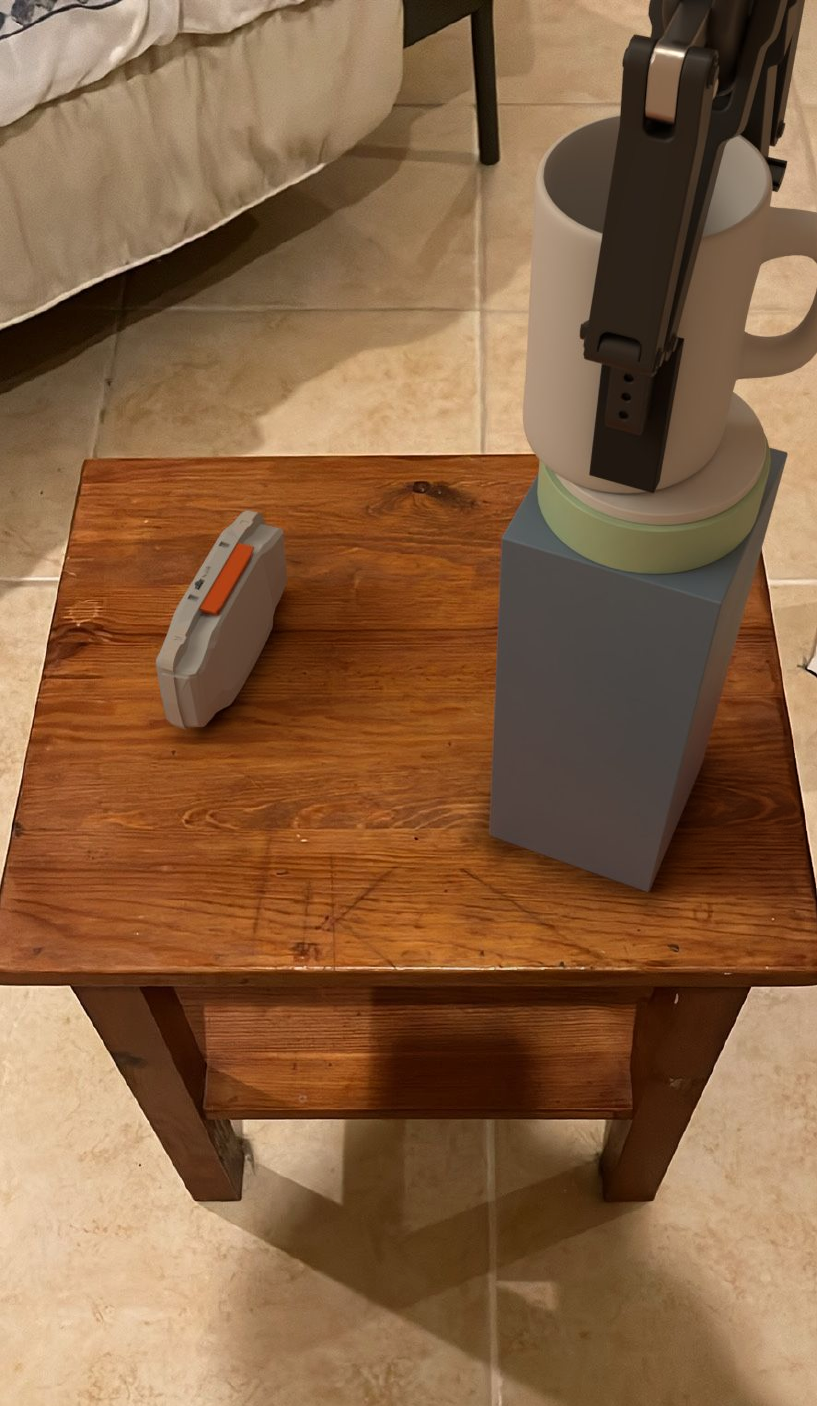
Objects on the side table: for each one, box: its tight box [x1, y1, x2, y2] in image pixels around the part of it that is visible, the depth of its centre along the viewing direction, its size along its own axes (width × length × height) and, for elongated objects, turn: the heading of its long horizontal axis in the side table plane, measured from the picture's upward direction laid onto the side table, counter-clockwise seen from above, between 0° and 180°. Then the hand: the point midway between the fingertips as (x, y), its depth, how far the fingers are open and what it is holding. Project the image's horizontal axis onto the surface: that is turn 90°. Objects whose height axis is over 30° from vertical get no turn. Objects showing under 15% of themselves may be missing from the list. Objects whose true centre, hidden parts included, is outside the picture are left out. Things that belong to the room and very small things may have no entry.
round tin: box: [537, 391, 771, 574], centre depth 57 cm, size 10×10×3 cm
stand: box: [488, 447, 788, 893], centre depth 68 cm, size 10×10×24 cm
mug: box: [522, 113, 817, 493], centre depth 51 cm, size 12×8×11 cm
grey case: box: [155, 509, 288, 731], centre depth 82 cm, size 14×3×8 cm, turn 160°
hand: (661, 405), depth 54 cm, fingers closed on mug, 8 cm apart
